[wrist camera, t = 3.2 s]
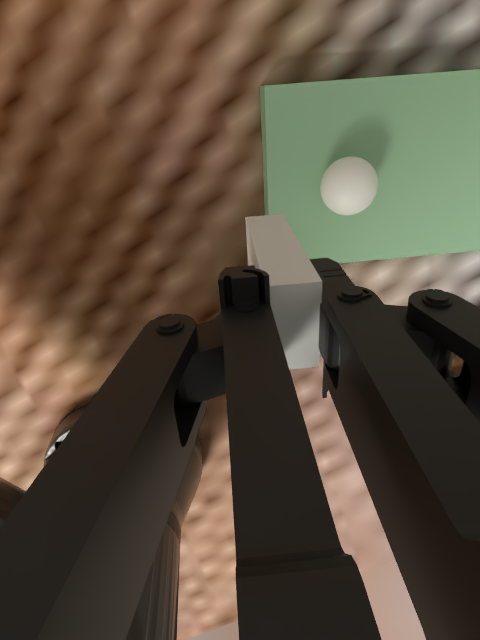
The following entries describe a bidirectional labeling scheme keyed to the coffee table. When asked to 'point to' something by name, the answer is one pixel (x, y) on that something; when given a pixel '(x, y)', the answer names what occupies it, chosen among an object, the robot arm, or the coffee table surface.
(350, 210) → the ball
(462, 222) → the mat
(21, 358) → the coffee table surface
